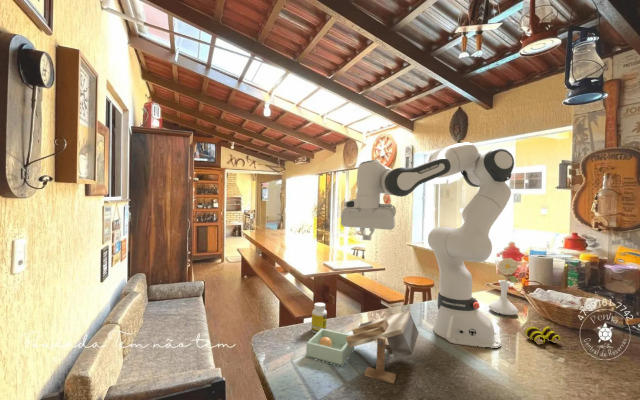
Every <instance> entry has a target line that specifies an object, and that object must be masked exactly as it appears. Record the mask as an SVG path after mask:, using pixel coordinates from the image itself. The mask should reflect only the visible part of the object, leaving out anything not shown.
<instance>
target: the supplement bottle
mask: <svg viewBox="0 0 640 400" xmlns="http://www.w3.org/2000/svg"><path fill="white" fill-rule="evenodd" d="M313 305H314V306H313V307H314V308H313V310H312V311H311V328H310V329H311V332H312V333H314V334H316V333H317V332H319V331H320V330H321V329H327V317H328V312H327V310H326V303H324V302H315V303H314V304H313Z"/></svg>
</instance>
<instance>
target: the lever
mask: <svg viewBox="0 0 640 400" xmlns="http://www.w3.org/2000/svg"><path fill="white" fill-rule="evenodd" d="M394 314H395V315H392V316H391V315H389V316H385V317H382V318H379V319H375V320H370V321H367V322H363V323H361V324H359V326H358V327H354V328H352V329H351V331H352V333H353V334H349V335H350V336H347V337H346V340H347V345H348V347H349V348H350V347H354V348H355V347H358V346H362V345H364V344H369V343H373V342H377V338H378V336H381V337H386V340H387V341H388V343H389V345H390V347H391V349H390V350H391V352H392V354H393V357H394V359H398V358H403V357H407V356H412V355H413V353H414V352H413V351H414V349H415V346H416V343H417V340H418V336H419V330H418V328H417V326H416V323H415V321H414V319H413V316H412V313H411V311H410V310H405V311H403V312H399V313H394Z"/></svg>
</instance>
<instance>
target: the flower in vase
mask: <svg viewBox="0 0 640 400" xmlns="http://www.w3.org/2000/svg"><path fill="white" fill-rule="evenodd" d="M497 266H498V267H497V268H498V273H499V275H500V276H501V277H503V278H504V279H502V280H501V279H500V280H497V282H498V283H499V286H500V297H499V298H498V299H496V300H494V301H492V302H491V303H489V304H488V308H489V309H490V310H491V311H492V312H494V313H496V314H499V313H500V314H501V315H504V316H505V315H506V316H514V315H515V316H516V315H518V313H519V310H518V308H517V307H516V306H515V304H513V303H512V302H511V301H510V300H509V299H508V296H507V295H508V288H509V286H510V285H511V284H512V283H518V279H517V277H516V276H514V275H513V274H515V272H516V271H517V270H518V269H519V267H518V266H519V265H518V262H517V260H515V259H514V258H512V257H509V258H508V257H506V258H505V259H504V258H503V259H502V260H500V261H499V263H498V265H497ZM508 275H509V276H508ZM511 275H512V276H511ZM506 276H508V278H507V277H506ZM509 279H510V281H509Z"/></svg>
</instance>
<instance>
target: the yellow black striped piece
mask: <svg viewBox="0 0 640 400" xmlns="http://www.w3.org/2000/svg"><path fill="white" fill-rule="evenodd" d="M525 336H526V337H527V336H528V337H530V338H531V339H533V340H534V341H536V338H538V337H540V339H542V340H543V342H544V343H545V342H546V340H545V339H549V340H551V341H553V340H554V338H557V339H559V340H560V341H561V337H560V335H558V334H557V333H556V332H555V331H554V330H552V329H551V327H549V326H546V327H544V328H543V330H542V331H541V330H540V329H539V328H538V327H536V326H530V327H528V328H526V330H525ZM528 337H527V338H528ZM531 339H530V340H531ZM534 341H533V342H534Z"/></svg>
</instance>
